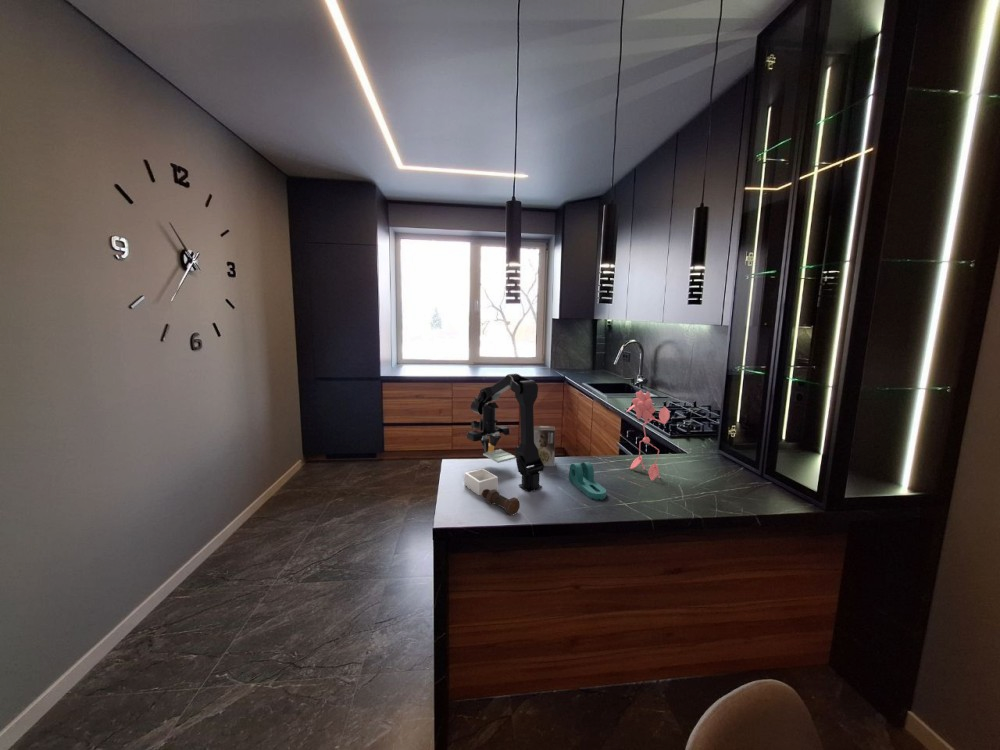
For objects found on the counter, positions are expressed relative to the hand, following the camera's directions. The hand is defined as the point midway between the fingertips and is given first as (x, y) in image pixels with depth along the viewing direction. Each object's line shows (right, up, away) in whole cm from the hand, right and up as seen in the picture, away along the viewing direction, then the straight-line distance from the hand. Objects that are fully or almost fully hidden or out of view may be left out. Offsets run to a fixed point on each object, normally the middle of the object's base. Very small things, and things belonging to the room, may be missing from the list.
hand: (488, 452), depth 167 cm
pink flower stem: (+60, -8, -10) cm, 62 cm away
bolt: (+5, -11, -36) cm, 38 cm away
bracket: (+38, -9, -22) cm, 45 cm away
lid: (+3, 0, -5) cm, 6 cm away
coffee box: (+24, -5, +2) cm, 24 cm away
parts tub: (-2, -9, -23) cm, 24 cm away
